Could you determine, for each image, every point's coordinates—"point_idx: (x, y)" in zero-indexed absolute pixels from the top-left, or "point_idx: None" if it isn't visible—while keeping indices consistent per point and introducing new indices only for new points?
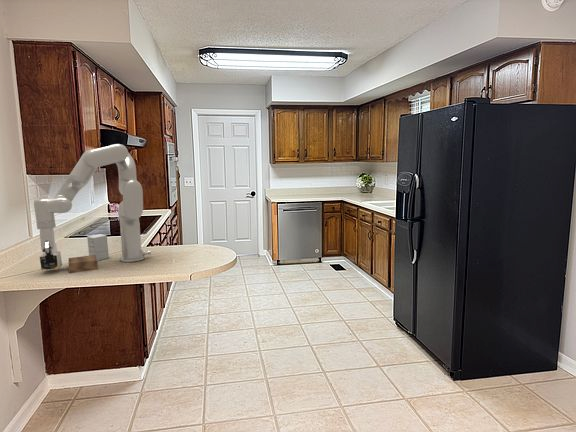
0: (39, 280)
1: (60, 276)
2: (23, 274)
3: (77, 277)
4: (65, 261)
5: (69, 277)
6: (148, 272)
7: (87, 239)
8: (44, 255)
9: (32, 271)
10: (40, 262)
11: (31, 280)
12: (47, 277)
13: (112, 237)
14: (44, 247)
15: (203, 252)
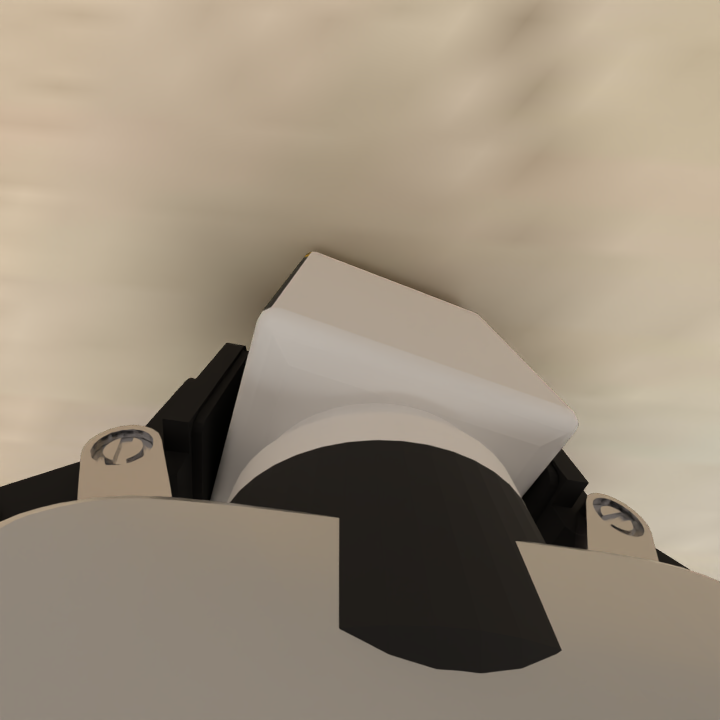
0: (17, 189)
1: (116, 379)
2: (460, 5)
3: (30, 469)
4: (662, 466)
5: (50, 429)
6: None
7: None
8: (249, 406)
9: (535, 150)
10: (292, 275)
11: (47, 94)
12: (126, 278)
13: None
14: None
15: None
